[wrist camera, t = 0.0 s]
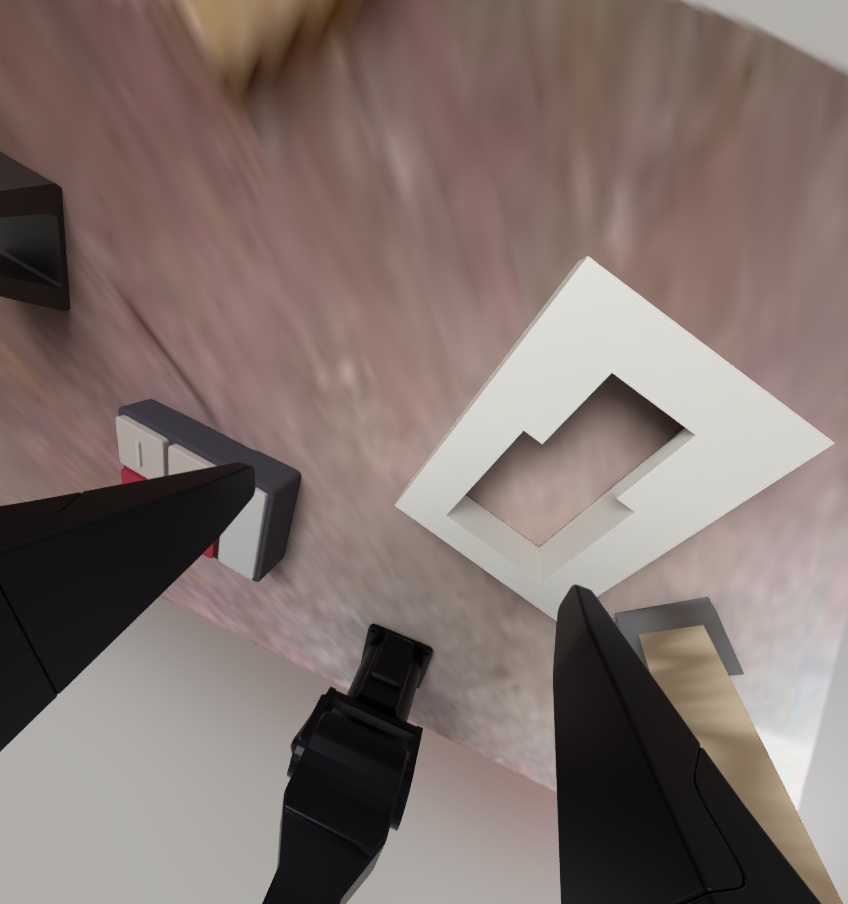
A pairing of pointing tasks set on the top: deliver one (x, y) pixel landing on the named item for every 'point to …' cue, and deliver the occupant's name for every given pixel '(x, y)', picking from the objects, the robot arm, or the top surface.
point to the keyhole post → (722, 720)
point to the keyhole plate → (644, 489)
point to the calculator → (197, 447)
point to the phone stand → (32, 238)
